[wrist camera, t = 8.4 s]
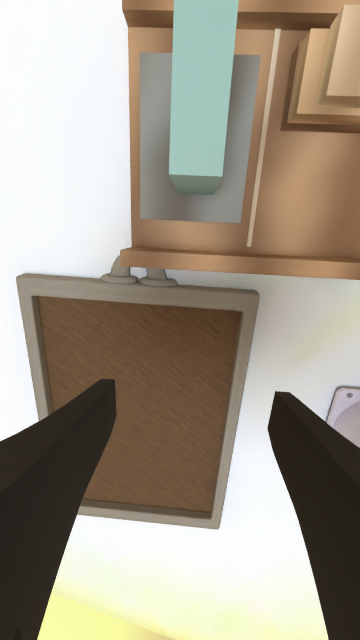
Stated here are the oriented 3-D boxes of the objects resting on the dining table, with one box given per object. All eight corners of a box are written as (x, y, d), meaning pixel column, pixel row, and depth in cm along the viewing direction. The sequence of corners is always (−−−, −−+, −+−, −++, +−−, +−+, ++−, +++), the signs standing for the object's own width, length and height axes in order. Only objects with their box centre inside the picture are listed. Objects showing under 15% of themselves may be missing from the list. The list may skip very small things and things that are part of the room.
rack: (445, 25, 14) (530, -46, 11) (370, 273, 19) (411, 282, 15) (131, 19, 15) (110, -48, 11) (134, 259, 20) (120, 266, 16)
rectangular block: (222, 83, 15) (239, -10, 9) (213, 195, 17) (222, 176, 11) (182, 81, 15) (174, -11, 9) (177, 193, 17) (168, 174, 11)
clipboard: (52, 513, 29) (8, 240, 19) (60, 498, 30) (22, 239, 20) (219, 530, 28) (267, 257, 18) (218, 515, 30) (261, 256, 19)
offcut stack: (399, 58, 14) (463, 3, 11) (379, 134, 15) (431, 106, 12) (291, 55, 14) (321, 1, 11) (280, 130, 16) (304, 102, 12)
